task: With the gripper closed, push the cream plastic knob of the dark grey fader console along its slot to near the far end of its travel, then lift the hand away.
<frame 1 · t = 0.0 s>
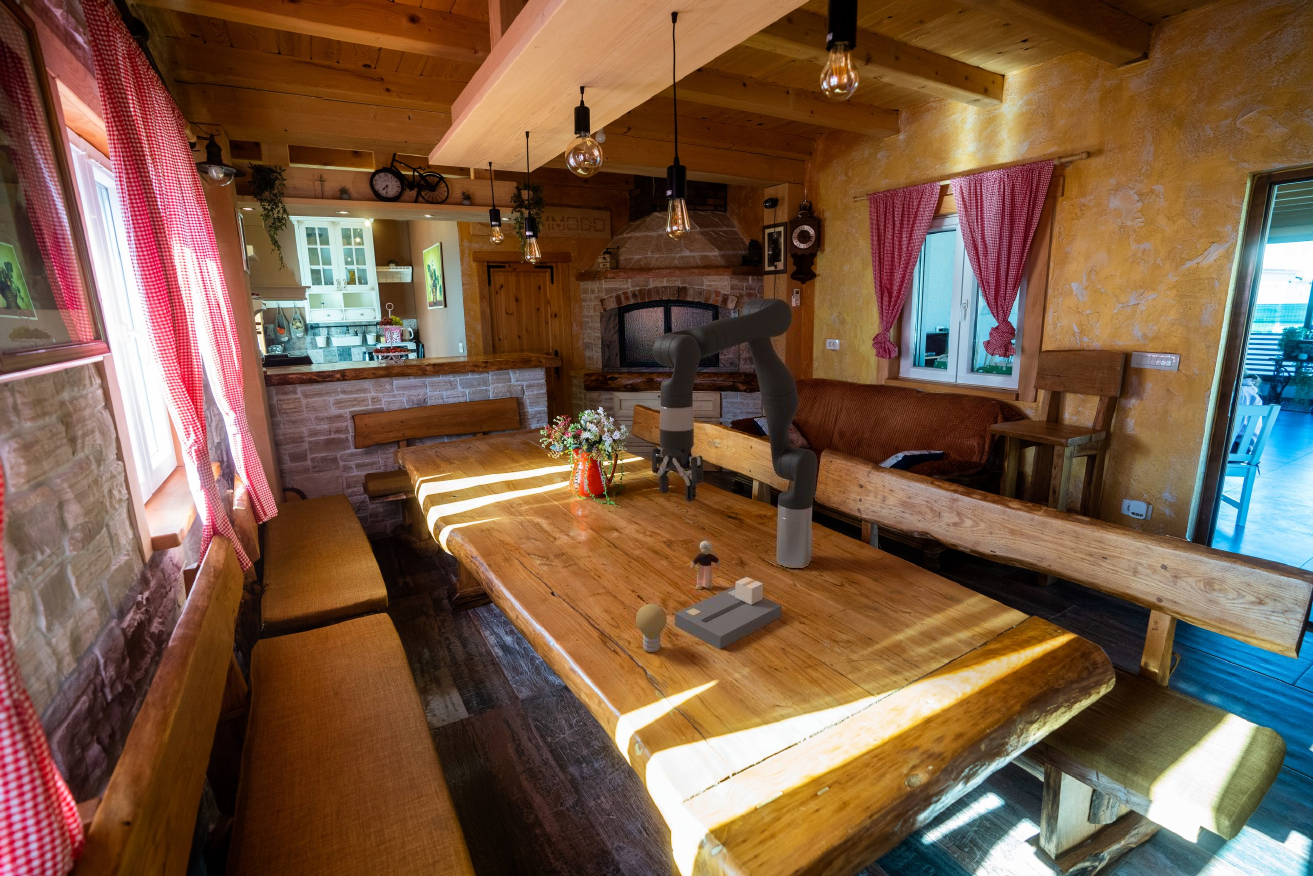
hand: (677, 496, 142), 29 cm above the table, tool pointing down, fingers open, 8 cm apart
grandmother figurine: (705, 587, 163), on the table
light bulb: (651, 649, 134), on the table
fader console: (728, 621, 145), on the table
fader knob: (748, 590, 149), point 5 cm above the table, slide at 0.0 cm
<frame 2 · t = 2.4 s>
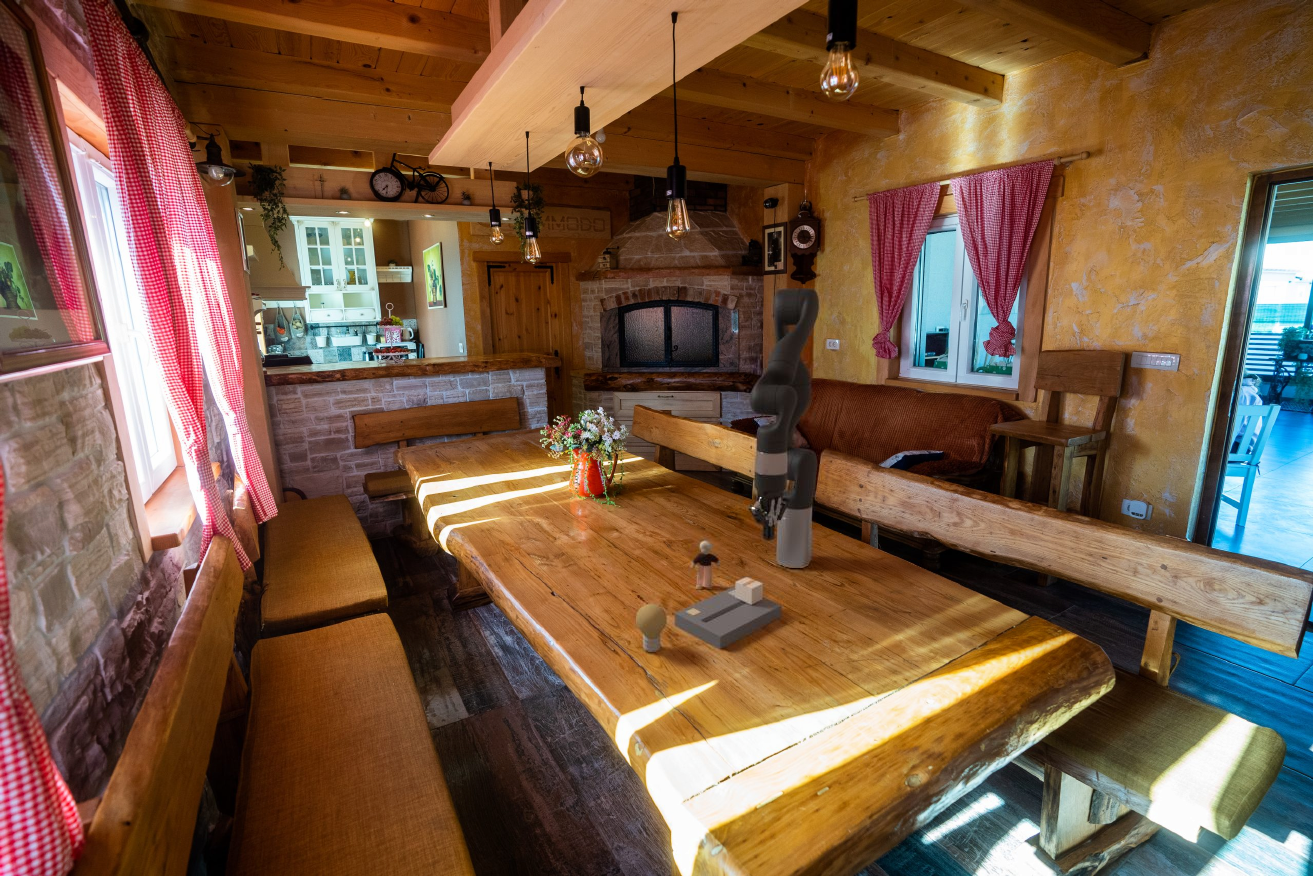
hand: (768, 539, 151), 16 cm above the table, tool pointing down, fingers closed
nothing on the table moved.
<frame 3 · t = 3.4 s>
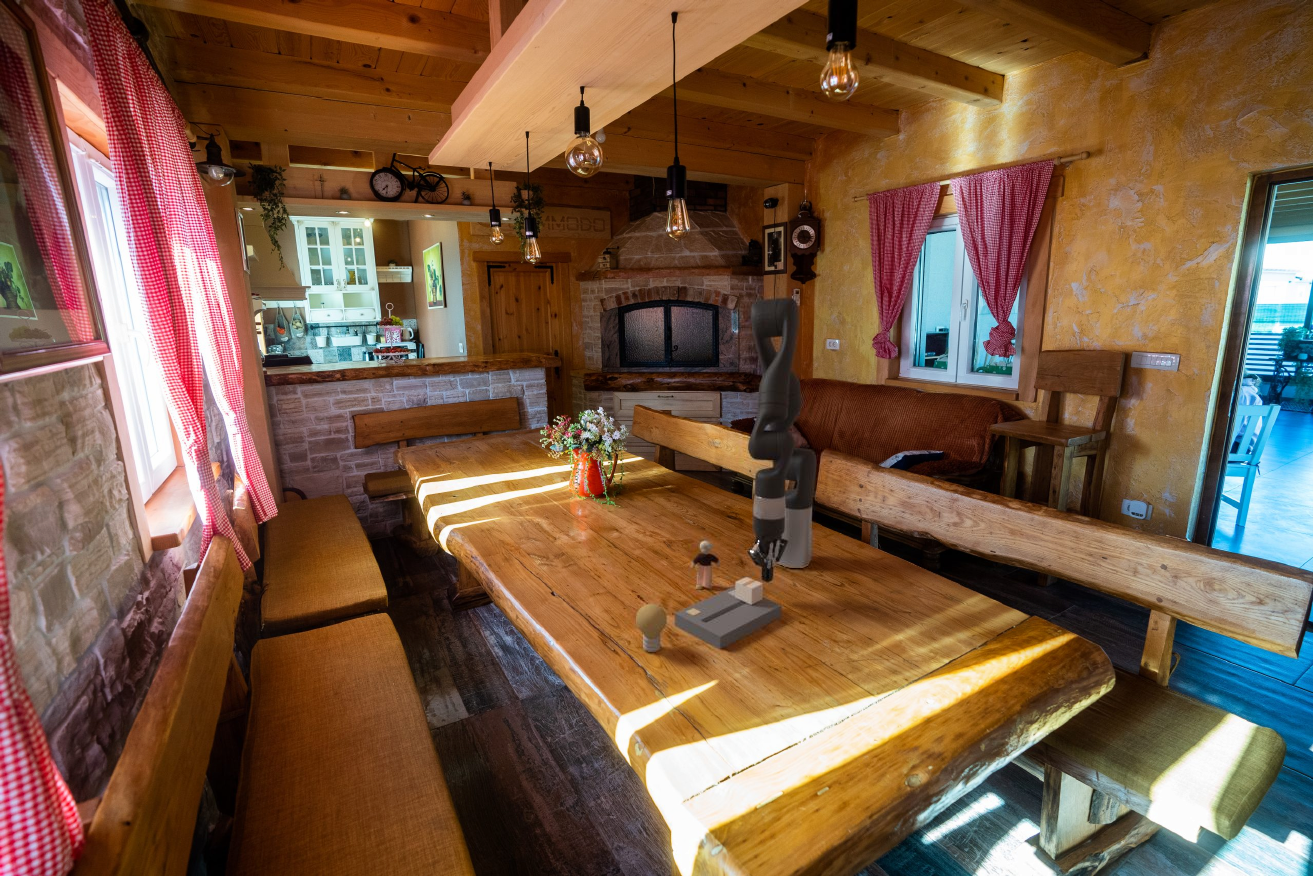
hand: (767, 580, 153), 6 cm above the table, tool pointing down, fingers closed
nothing on the table moved.
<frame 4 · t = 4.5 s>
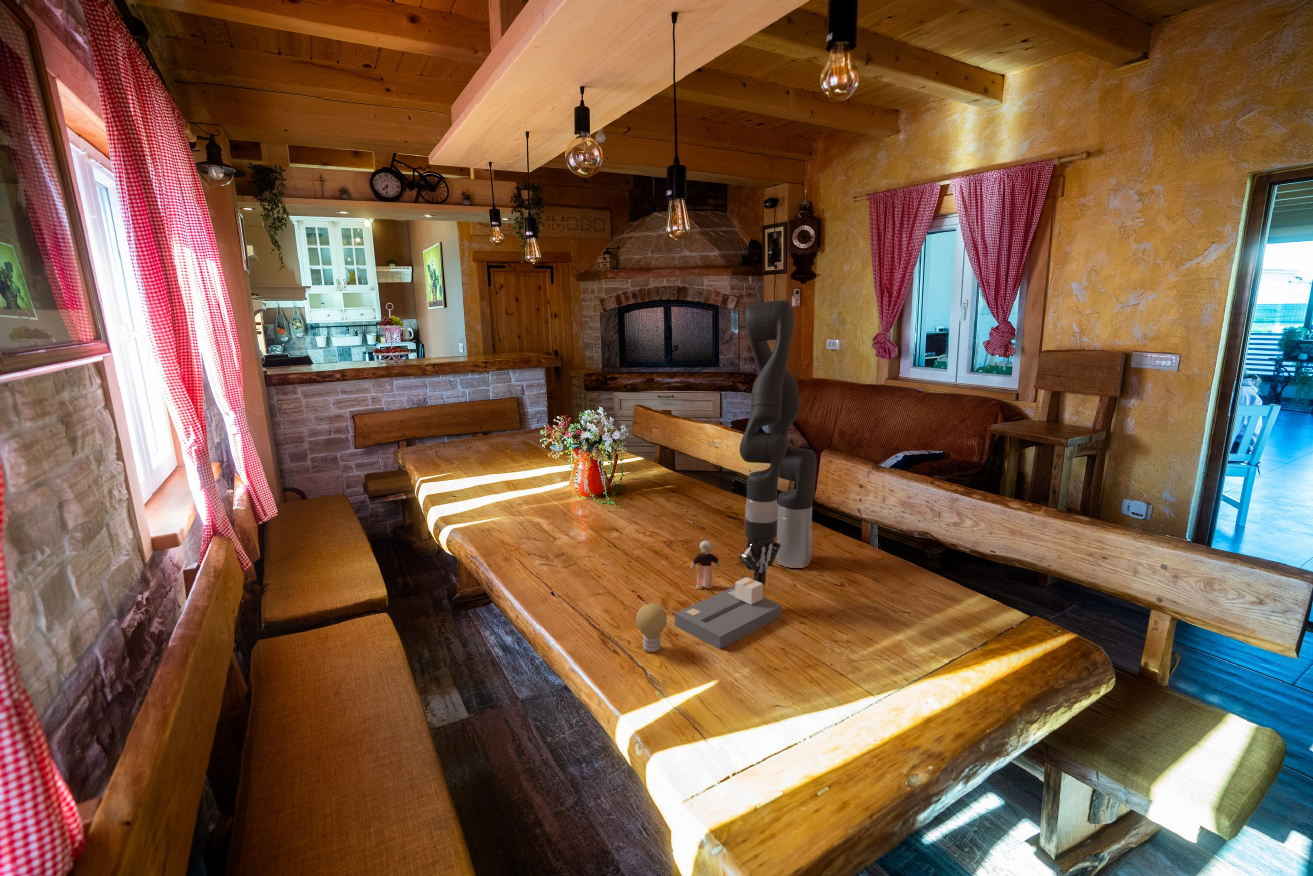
hand: (759, 584, 151), 6 cm above the table, tool pointing down, fingers closed
fader knob: (748, 590, 149), point 5 cm above the table, slide at 0.0 cm, touching gripper
everything else where it was.
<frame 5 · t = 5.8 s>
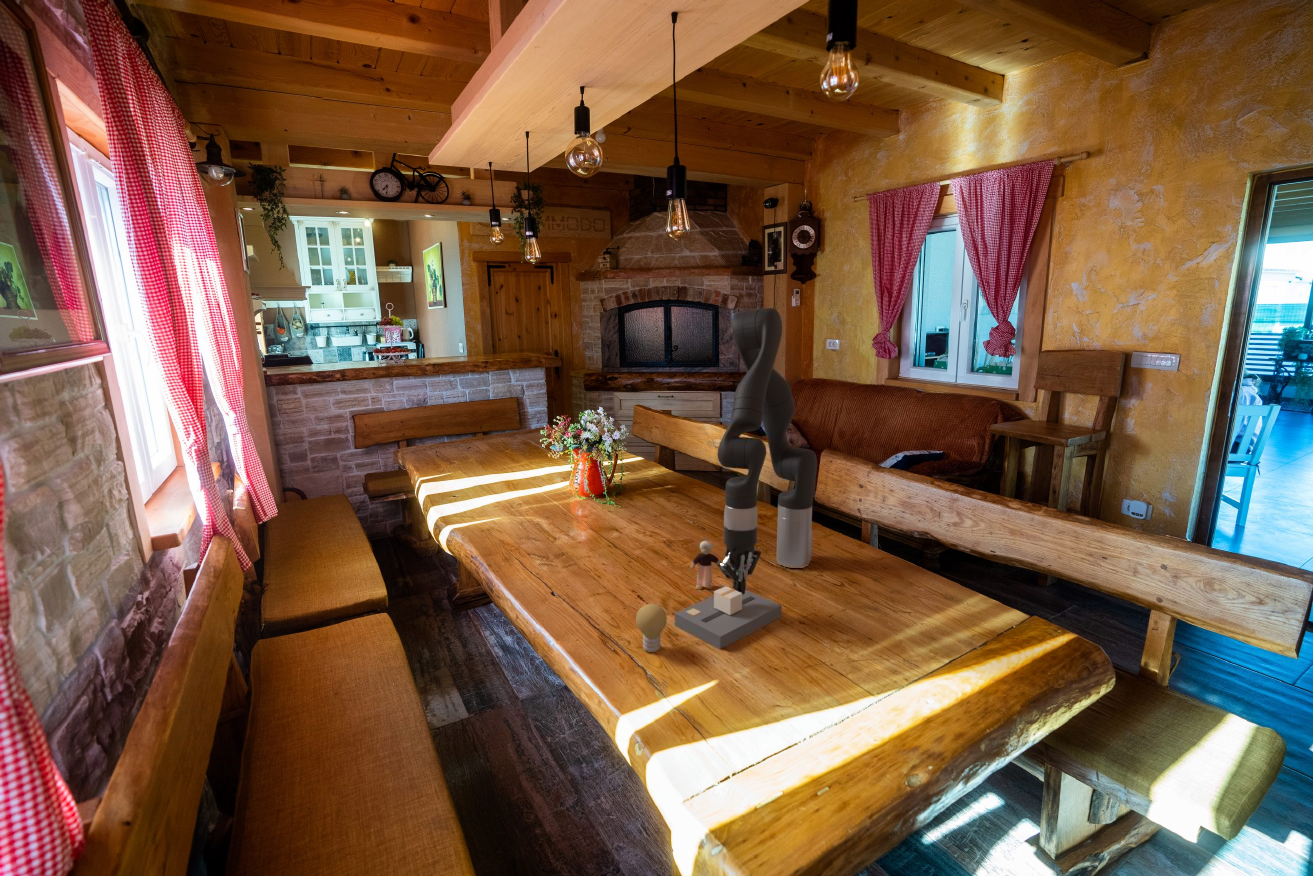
hand: (739, 594, 146), 6 cm above the table, tool pointing down, fingers closed
fader knob: (727, 600, 144), point 5 cm above the table, slide at 7.4 cm, touching gripper
everything else where it was.
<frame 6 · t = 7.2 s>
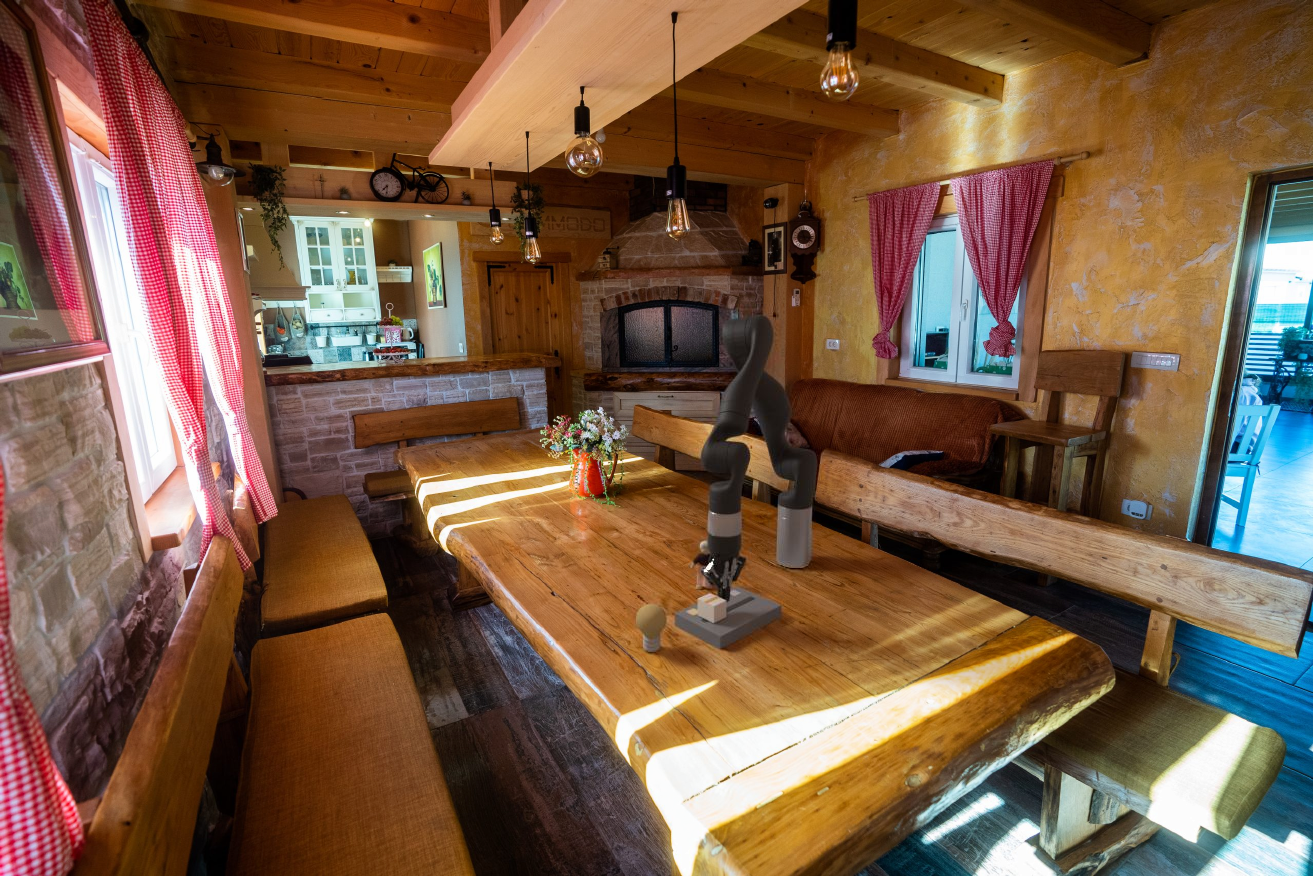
hand: (723, 601, 143), 6 cm above the table, tool pointing down, fingers closed
fader knob: (711, 607, 140), point 5 cm above the table, slide at 12.7 cm, touching gripper
everything else where it was.
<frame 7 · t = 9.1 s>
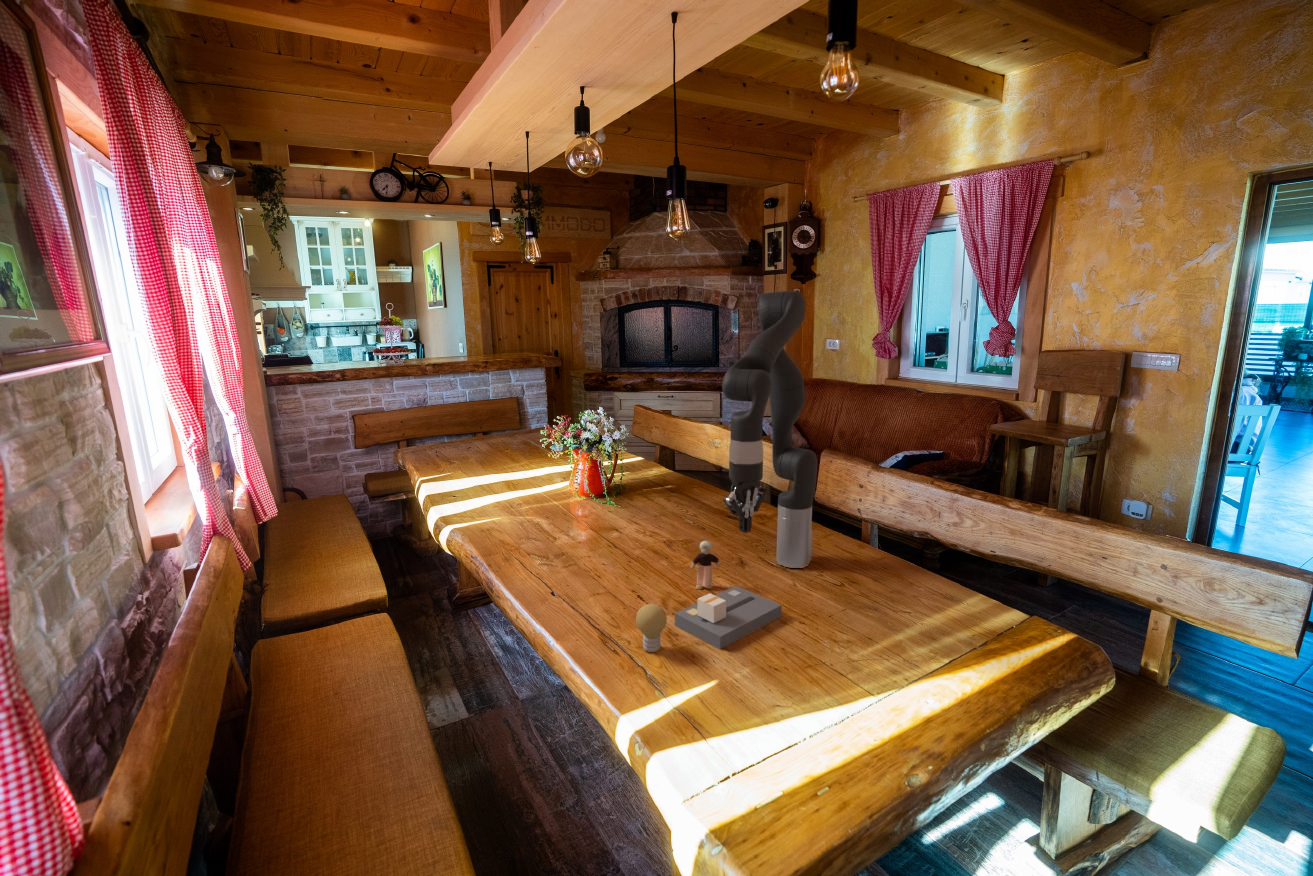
hand: (745, 531, 144), 21 cm above the table, tool pointing down, fingers closed
fader knob: (711, 607, 140), point 5 cm above the table, slide at 12.8 cm
everything else where it was.
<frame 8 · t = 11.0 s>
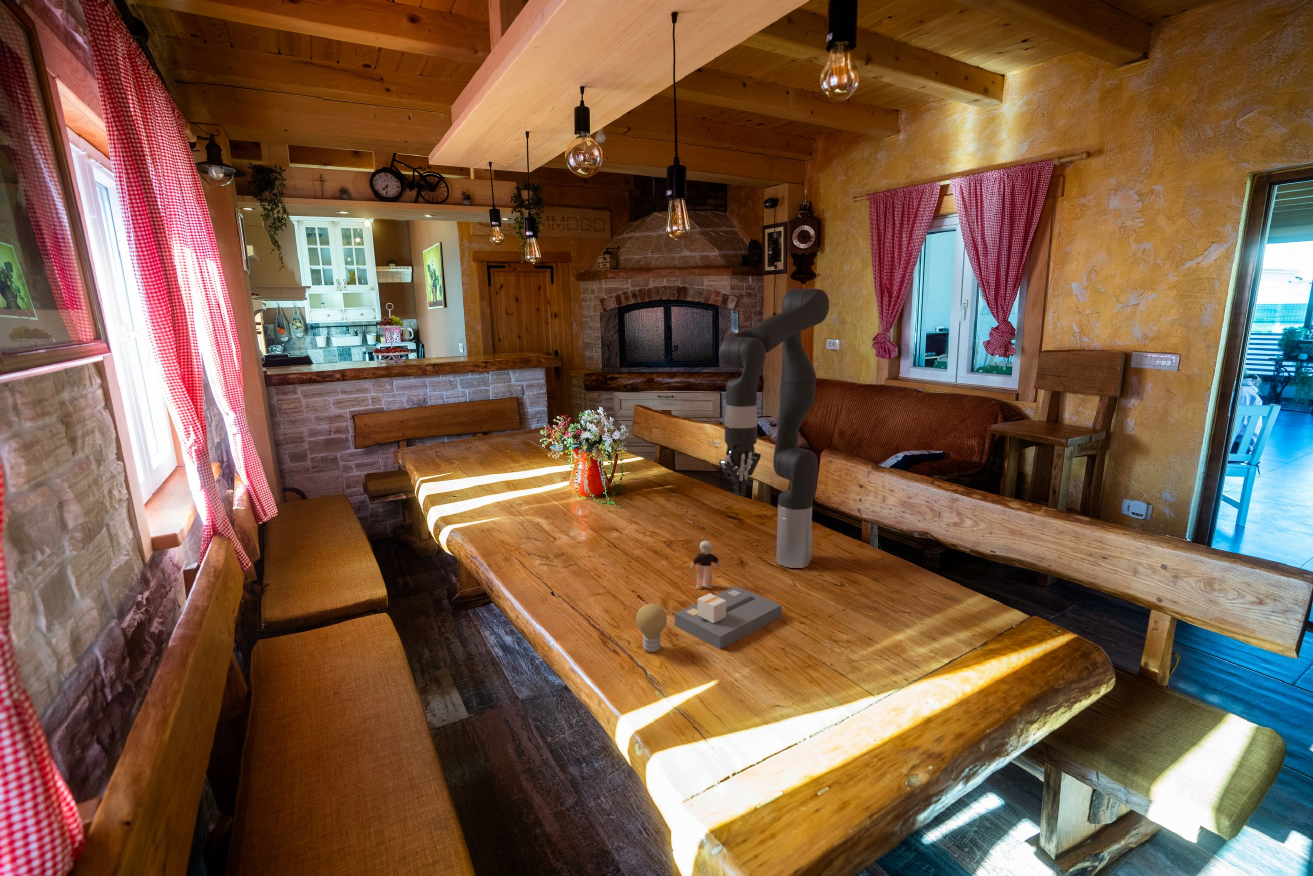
hand: (739, 494, 150), 27 cm above the table, tool pointing down, fingers closed
nothing on the table moved.
at the end: fader knob slide at 12.8 cm; grandmother figurine moved 0.2 cm from its start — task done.
